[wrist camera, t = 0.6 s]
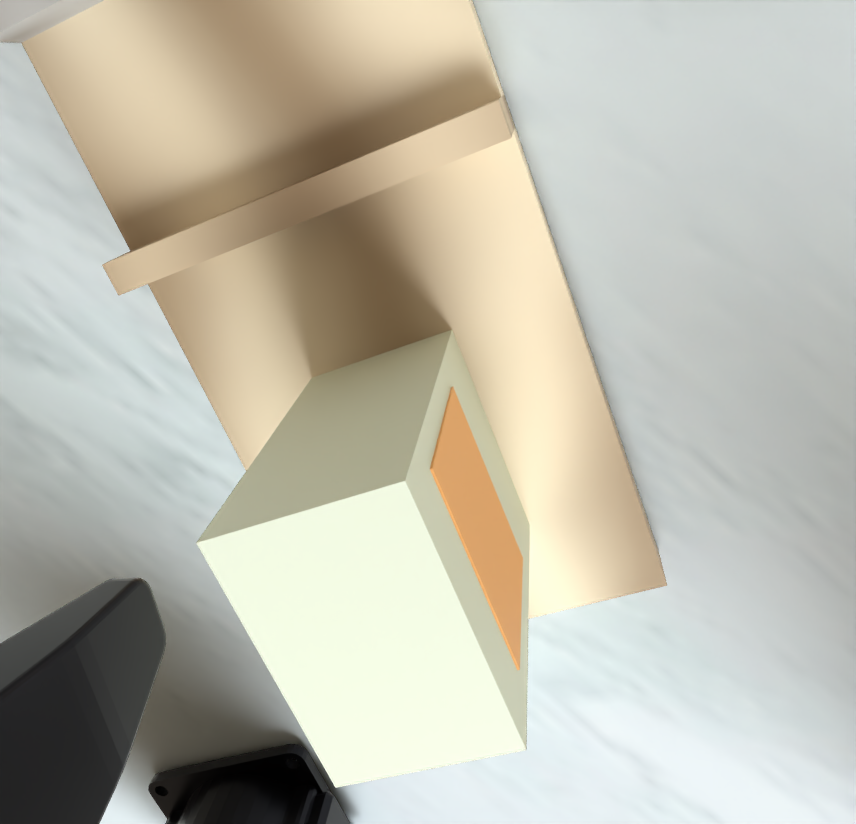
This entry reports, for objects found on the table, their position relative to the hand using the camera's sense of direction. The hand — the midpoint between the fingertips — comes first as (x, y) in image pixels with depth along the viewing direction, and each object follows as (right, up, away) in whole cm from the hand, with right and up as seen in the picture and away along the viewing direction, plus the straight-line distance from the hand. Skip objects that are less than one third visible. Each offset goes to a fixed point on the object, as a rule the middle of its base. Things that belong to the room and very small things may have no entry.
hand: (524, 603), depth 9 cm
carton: (-1, +1, +13) cm, 13 cm away
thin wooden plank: (-2, +5, +13) cm, 14 cm away
